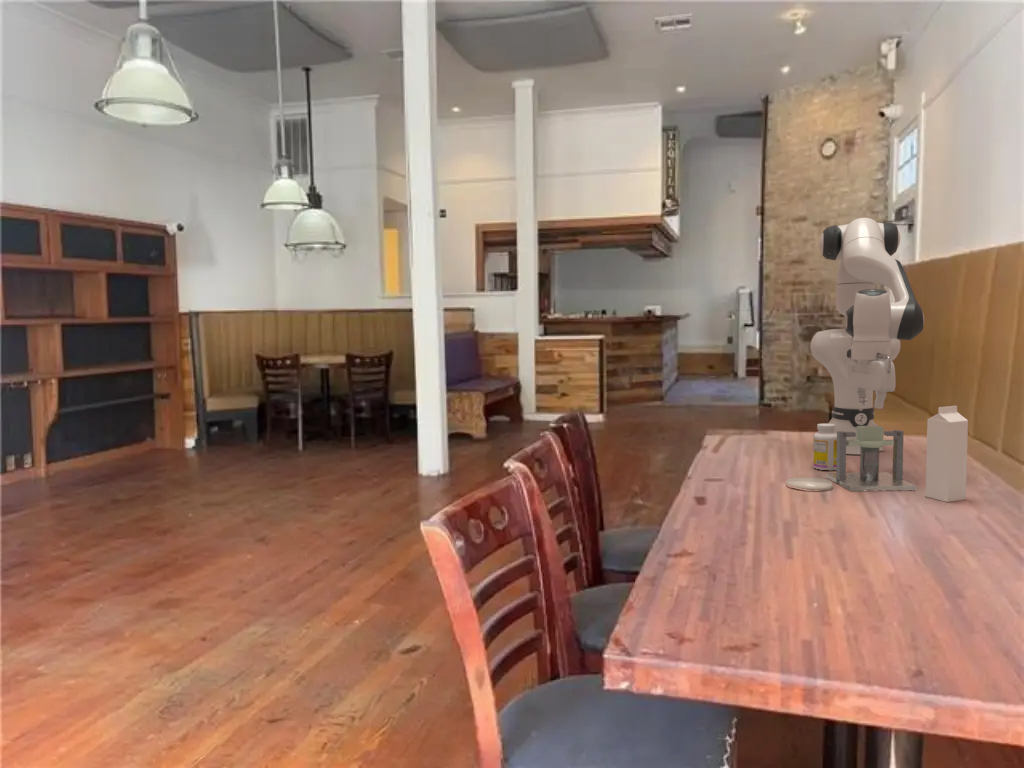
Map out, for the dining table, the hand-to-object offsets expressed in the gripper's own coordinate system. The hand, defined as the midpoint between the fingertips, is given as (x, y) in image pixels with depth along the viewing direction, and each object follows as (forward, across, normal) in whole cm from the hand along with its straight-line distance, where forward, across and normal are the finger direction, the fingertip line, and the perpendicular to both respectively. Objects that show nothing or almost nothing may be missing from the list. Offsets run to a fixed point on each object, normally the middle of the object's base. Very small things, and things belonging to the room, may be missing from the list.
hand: (870, 406), depth 192 cm
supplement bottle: (+20, +19, +4) cm, 28 cm away
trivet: (+20, -2, +16) cm, 26 cm away
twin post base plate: (+20, 0, 0) cm, 20 cm away
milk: (+21, -16, -11) cm, 28 cm away
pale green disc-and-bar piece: (+10, 0, 0) cm, 10 cm away
